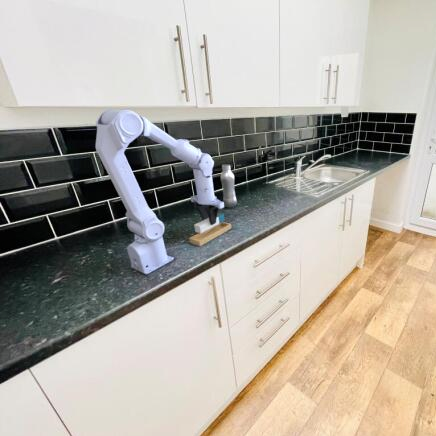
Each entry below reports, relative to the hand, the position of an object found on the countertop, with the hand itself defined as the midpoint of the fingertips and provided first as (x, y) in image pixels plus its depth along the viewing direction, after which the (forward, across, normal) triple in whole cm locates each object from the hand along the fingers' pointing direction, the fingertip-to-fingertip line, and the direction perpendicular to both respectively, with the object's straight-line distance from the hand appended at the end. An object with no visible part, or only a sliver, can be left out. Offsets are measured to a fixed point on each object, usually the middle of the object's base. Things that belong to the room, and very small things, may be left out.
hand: (210, 222), depth 95 cm
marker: (+1, 0, 0) cm, 1 cm away
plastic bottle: (+5, +14, -26) cm, 30 cm away
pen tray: (+5, 0, 0) cm, 5 cm away
